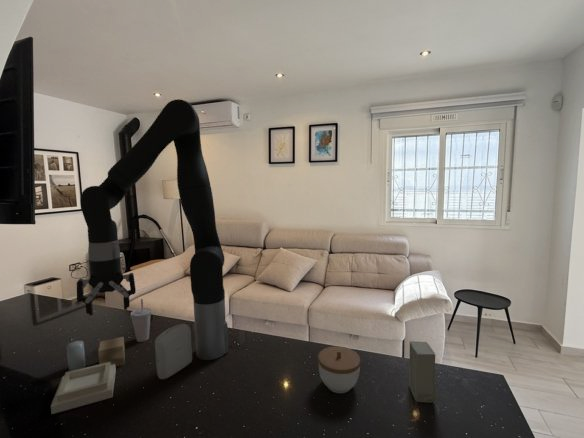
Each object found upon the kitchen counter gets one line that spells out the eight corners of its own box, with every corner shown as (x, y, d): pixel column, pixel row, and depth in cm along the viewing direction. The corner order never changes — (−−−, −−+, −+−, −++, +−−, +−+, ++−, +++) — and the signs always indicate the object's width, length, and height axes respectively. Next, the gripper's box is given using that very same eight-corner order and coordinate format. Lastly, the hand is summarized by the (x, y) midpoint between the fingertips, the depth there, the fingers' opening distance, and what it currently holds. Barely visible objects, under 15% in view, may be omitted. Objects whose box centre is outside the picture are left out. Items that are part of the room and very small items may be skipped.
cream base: (115, 370, 85) (114, 358, 84) (112, 397, 74) (111, 384, 74) (63, 383, 79) (62, 371, 79) (51, 414, 69) (50, 400, 68)
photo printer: (164, 381, 80) (161, 337, 78) (154, 376, 82) (151, 333, 80) (194, 362, 88) (192, 322, 87) (184, 358, 91) (182, 318, 89)
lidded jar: (350, 370, 84) (351, 338, 83) (366, 397, 73) (367, 361, 72) (313, 374, 82) (313, 342, 81) (324, 402, 72) (324, 365, 71)
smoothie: (147, 344, 99) (144, 303, 97) (128, 344, 99) (125, 303, 97) (156, 334, 105) (154, 295, 103) (138, 334, 105) (135, 295, 104)
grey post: (86, 361, 89) (84, 339, 88) (84, 369, 85) (82, 345, 85) (70, 365, 87) (67, 342, 86) (67, 373, 84) (64, 349, 83)
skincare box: (434, 403, 71) (437, 355, 70) (415, 402, 71) (417, 354, 70) (425, 386, 77) (427, 341, 76) (407, 385, 78) (409, 340, 76)
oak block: (125, 355, 93) (123, 336, 92) (124, 365, 87) (122, 345, 87) (102, 360, 90) (100, 341, 89) (99, 371, 85) (98, 351, 84)
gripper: (71, 262, 78) (76, 322, 80) (132, 256, 85) (136, 311, 87) (76, 256, 85) (81, 311, 87) (133, 251, 92) (136, 302, 93)
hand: (109, 311), depth 87 cm, fingers open, 8 cm apart
